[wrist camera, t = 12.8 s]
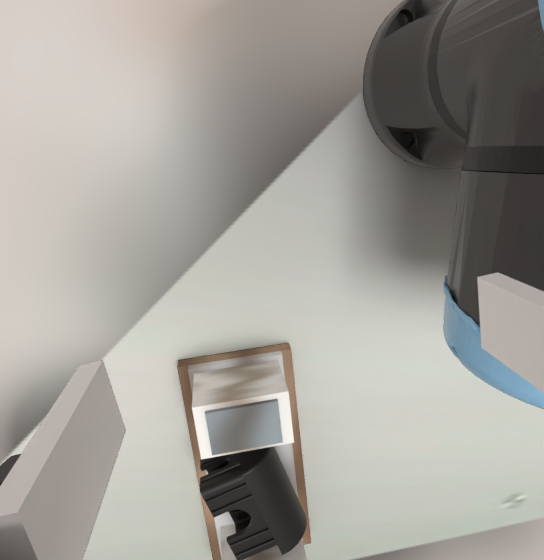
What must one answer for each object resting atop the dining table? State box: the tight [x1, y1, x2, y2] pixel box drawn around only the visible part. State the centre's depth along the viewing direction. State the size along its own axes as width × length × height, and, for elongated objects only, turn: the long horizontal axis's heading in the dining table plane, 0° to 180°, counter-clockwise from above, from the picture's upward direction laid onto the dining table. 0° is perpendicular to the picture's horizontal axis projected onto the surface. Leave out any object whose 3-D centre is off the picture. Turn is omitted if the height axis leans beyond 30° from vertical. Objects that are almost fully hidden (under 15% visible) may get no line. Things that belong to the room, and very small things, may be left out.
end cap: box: [200, 446, 307, 560], centre depth 43 cm, size 10×7×7 cm
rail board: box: [177, 343, 311, 560], centre depth 44 cm, size 11×24×9 cm, turn 6°
